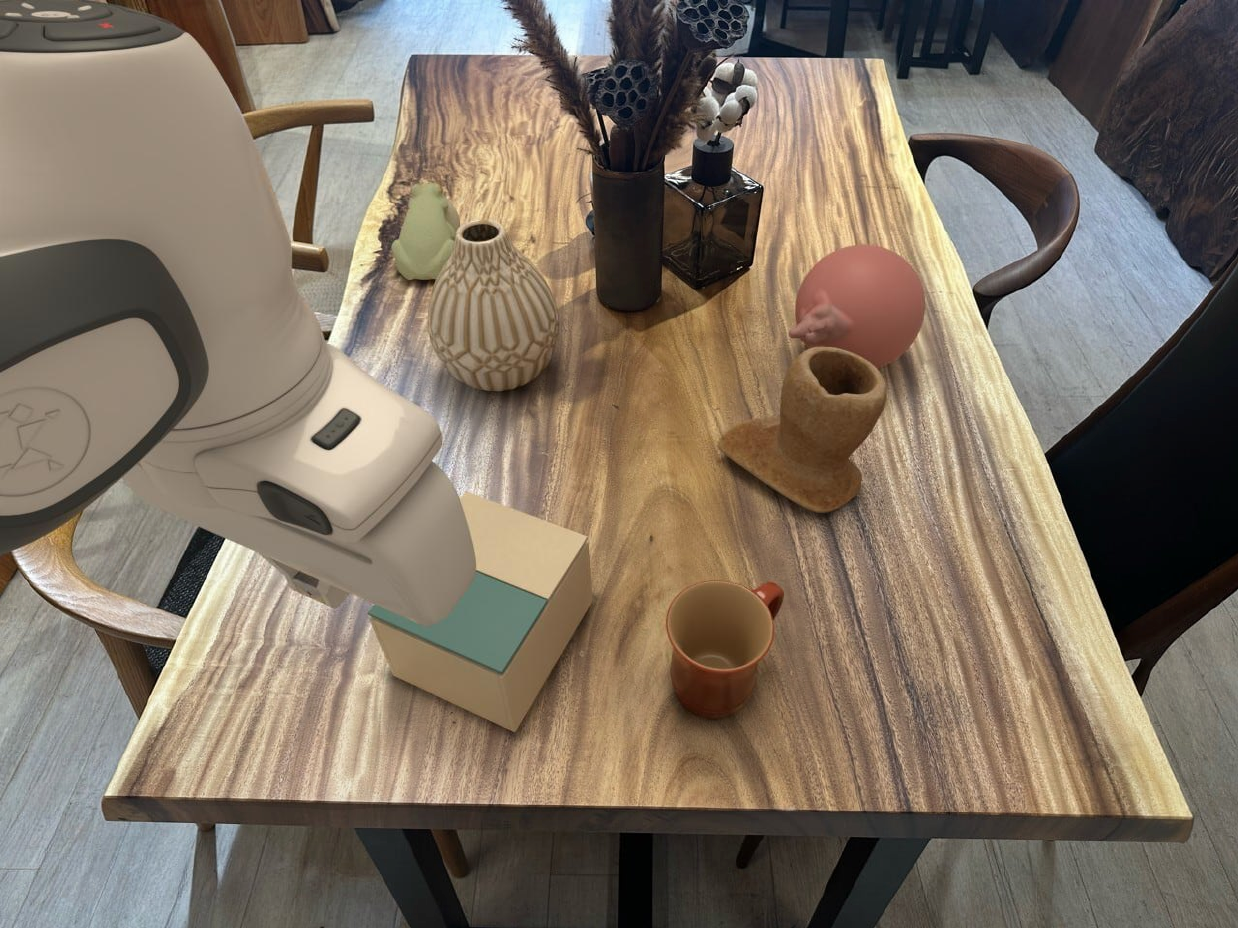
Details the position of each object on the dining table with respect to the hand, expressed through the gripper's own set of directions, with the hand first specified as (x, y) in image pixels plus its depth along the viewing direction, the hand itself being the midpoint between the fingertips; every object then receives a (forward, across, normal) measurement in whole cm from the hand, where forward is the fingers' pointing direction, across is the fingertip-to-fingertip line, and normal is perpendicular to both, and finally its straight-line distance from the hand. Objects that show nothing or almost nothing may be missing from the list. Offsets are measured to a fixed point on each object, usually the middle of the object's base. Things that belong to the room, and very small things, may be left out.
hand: (324, 590), depth 45 cm
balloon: (+29, +16, +69) cm, 77 cm away
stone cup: (+29, +17, +49) cm, 60 cm away
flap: (+19, -2, +12) cm, 23 cm away
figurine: (+29, -46, +69) cm, 88 cm away
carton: (+29, -2, +15) cm, 33 cm away
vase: (+29, -22, +50) cm, 62 cm away
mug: (+29, +19, +21) cm, 41 cm away
